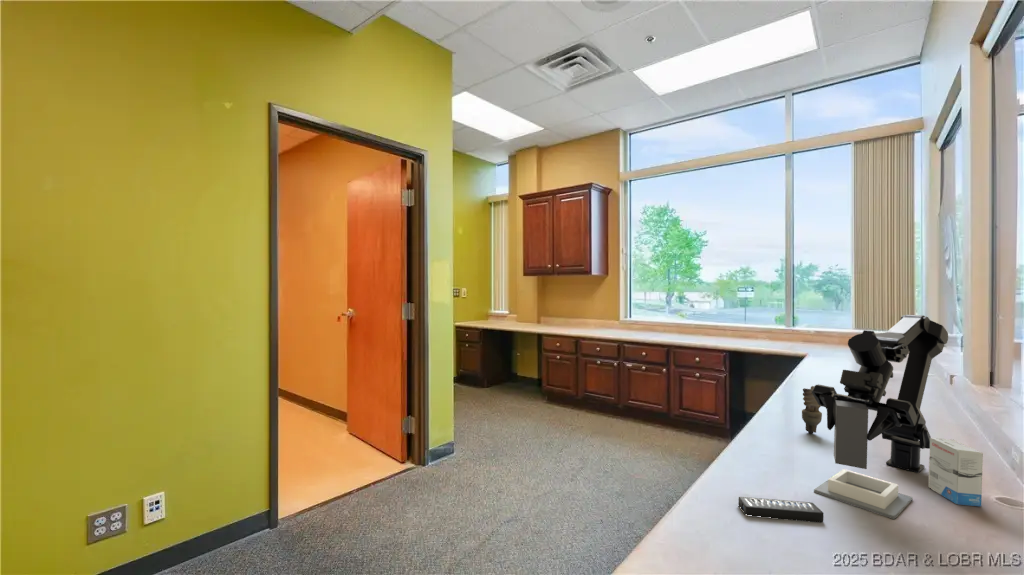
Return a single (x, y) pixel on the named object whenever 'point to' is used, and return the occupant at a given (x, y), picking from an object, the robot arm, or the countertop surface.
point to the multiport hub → (781, 509)
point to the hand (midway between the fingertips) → (847, 433)
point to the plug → (851, 434)
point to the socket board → (865, 493)
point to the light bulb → (811, 411)
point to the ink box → (955, 471)
